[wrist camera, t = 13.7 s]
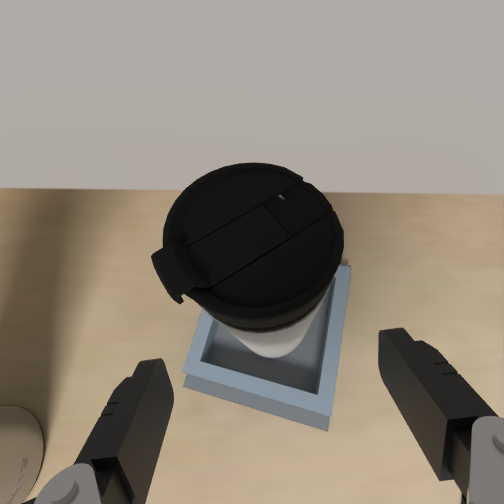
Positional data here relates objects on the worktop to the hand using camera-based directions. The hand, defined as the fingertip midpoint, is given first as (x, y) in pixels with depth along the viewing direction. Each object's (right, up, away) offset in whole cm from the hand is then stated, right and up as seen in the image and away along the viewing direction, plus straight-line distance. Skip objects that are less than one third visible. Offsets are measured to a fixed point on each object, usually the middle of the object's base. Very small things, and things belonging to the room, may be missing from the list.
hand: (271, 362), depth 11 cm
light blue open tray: (+1, -3, +18) cm, 18 cm away
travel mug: (+1, -3, +17) cm, 17 cm away
